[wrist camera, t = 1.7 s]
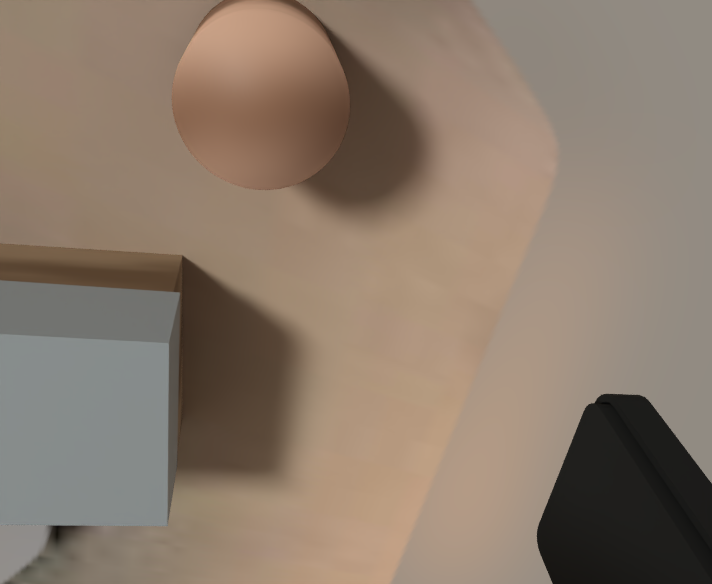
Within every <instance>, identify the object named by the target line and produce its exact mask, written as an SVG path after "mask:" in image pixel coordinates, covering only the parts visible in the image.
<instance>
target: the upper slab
mask: <svg viewBox="0 0 712 584" xmlns="http://www.w3.org/2000/svg"><path fill="white" fill-rule="evenodd" d="M179 330H180V292H165V291H150V290H135V289H121V288H106V287H91V286H76V285H62V284H47V283H32V282H17V281H3V280H0V525H94V526H168V519H169V513H170V507H171V501H172V494H173V488H174V482H175V476H176V469H177V444H178V387H179Z"/></svg>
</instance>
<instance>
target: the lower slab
mask: <svg viewBox="0 0 712 584" xmlns="http://www.w3.org/2000/svg"><path fill="white" fill-rule="evenodd" d="M0 280H3V281H17V282H32V283H47V284H62V285H76V286H91V287H106V288H121V289H135V290H150V291H165V292H180V330H179V387H178V442H179V436H180V430H181V424H182V255H169V254H153V253H138V252H122V251H107V250H92V249H76V248H61V247H45V246H30V245H14V244H0ZM177 448H178V444H177Z"/></svg>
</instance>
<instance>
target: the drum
mask: <svg viewBox="0 0 712 584" xmlns="http://www.w3.org/2000/svg"><path fill="white" fill-rule="evenodd" d="M172 107H173V114H174V118H175V122H176V125H177V128H178V131H179V133H180V135H181V138H182V140H183V142H184V143H185V145H186V146H187V148H188V149H189V151H190V152H191V154H192V155H193V156H194V157H195V158H196V159H197V161H198V162H199V163H200V164H202V165H203V166H204V167H205V168H206V169H207V170H209V171H210V172H211V173H213V174H214V175H216V176H217V177H219V178H221V179H223V180H225V181H227V182H229V183H232V184H234V185H237V186H241V187H244V188H249V189H256V190H272V189H281V188H285V187H289V186H292V185H295V184H298V183H300V182H302V181H304V180H306V179H308V178H310V177H311V176H313V175H314V174H316V173H317V172H319V171H320V170H321V169H322V168H323V167H324V166H325V165H326V164H327V163H328V162H329V161H330V160H331V159H332V157H333V156H334V155H335V153H336V152H337V150H338V149H339V147H340V145H341V143H342V141H343V139H344V136H345V133H346V130H347V127H348V122H349V117H350V93H349V88H348V83H347V80H346V77H345V74H344V71H343V68H342V66H341V64H340V61H339V59H338V57H337V54H336V52H335V50H334V47H333V45H332V43H331V41H330V38H329V36H328V34H327V32H326V30H325V29H324V27H323V26H322V24H321V23H320V21H319V20H318V19H317V18H316V17H315V15H314V14H313V13H312V12H310V11H309V10H308V9H307V8H306V7H305V6H303V5H302V4H300V3H299V2H297V1H295V0H224V1H222V2H220V3H219V4H218V5H216V6H215V7H214V8H213V9H212V10H211V11H210V12H209V13H208V14H207V15H206V16H205V17H204V19H203V20H202V22H201V23H200V24H199V26H198V28H197V30H196V32H195V34H194V36H193V38H192V39H191V41H190V43H189V45H188V47H187V49H186V51H185V52H184V54H183V56H182V58H181V60H180V62H179V64H178V67H177V70H176V73H175V77H174V82H173V87H172Z"/></svg>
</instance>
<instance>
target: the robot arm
mask: <svg viewBox="0 0 712 584" xmlns="http://www.w3.org/2000/svg"><path fill="white" fill-rule="evenodd" d="M537 542H538V548H539V551H540V554H541V556H542V559H543V561H544V564H545V566H546V569H547V571H548V573H549V576H550V578H551V581H552V583H553V584H712V483H711V482H710V481H709V480H708V478H707V477H706V476H705V474H704V473H703V472H702V470H701V469H700V468H699V466H698V465H697V464H696V462H695V461H694V460H693V459H692V457H691V456H690V454H689V453H688V452H687V450H686V449H685V448H684V446H683V445H682V444H681V443H680V441H679V440H678V439H677V437H676V436H675V435H674V433H673V432H672V431H671V429H670V428H669V427H668V425H667V424H666V423H665V421H664V420H663V419H662V417H661V416H660V415H659V413H658V412H657V411H656V410H655V408H654V407H653V406H652V405H651V403H650V402H649V401H648V400H647V399H646V398H645V397H643V396H640V395H623V394H603V395H601V396H600V397H598V398H597V400H596V402H595V403H593V404H589V405H588V406H587V407H586V408H585V410H584V412H583V415H582V417H581V420H580V422H579V425H578V427H577V430H576V433H575V435H574V437H573V440H572V443H571V445H570V447H569V450H568V453H567V455H566V458H565V460H564V463H563V465H562V468H561V470H560V473H559V476H558V478H557V480H556V483H555V485H554V488H553V490H552V493H551V495H550V498H549V500H548V503H547V505H546V508H545V510H544V513H543V515H542V518H541V520H540V523H539V526H538V530H537Z"/></svg>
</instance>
